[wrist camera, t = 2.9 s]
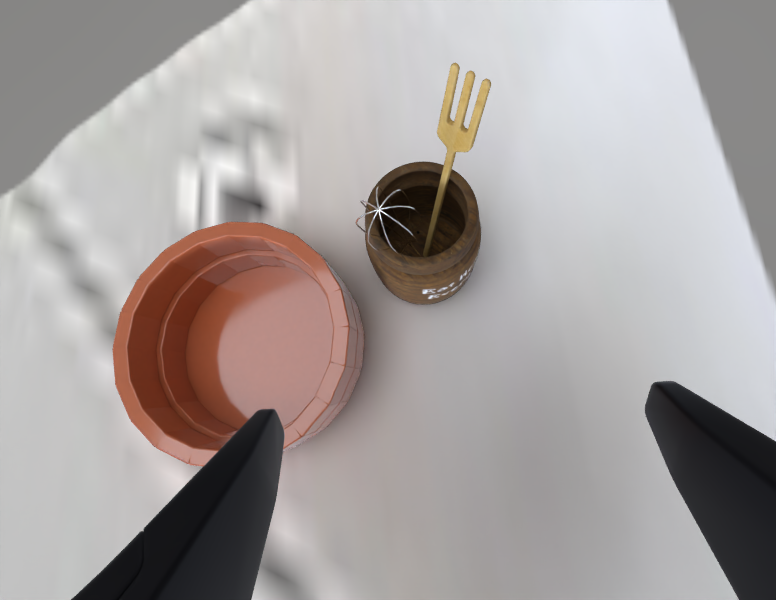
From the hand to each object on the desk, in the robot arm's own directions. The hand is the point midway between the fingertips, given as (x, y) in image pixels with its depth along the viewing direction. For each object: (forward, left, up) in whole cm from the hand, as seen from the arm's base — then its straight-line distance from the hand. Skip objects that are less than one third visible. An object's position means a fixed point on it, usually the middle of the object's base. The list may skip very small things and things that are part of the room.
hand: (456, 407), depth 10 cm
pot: (-7, +8, -13) cm, 17 cm away
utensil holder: (+4, +7, -14) cm, 16 cm away
